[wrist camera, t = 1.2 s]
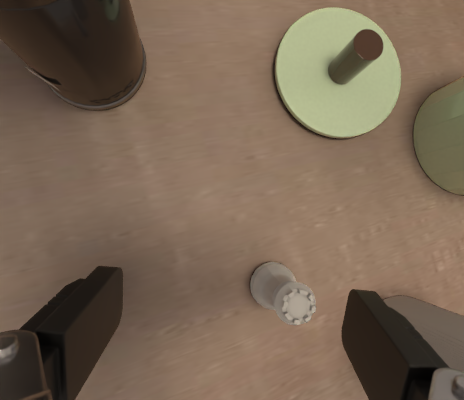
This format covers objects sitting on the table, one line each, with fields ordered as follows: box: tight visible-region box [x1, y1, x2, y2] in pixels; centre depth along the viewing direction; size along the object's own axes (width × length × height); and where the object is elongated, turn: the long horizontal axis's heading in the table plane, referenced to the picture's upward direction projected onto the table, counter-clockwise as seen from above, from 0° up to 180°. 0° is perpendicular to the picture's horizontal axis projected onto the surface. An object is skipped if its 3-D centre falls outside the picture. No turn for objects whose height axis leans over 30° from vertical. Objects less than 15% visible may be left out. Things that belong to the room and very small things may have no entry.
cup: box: [383, 296, 464, 372], centre depth 26 cm, size 9×9×12 cm
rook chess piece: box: [250, 262, 316, 325], centre depth 27 cm, size 4×4×8 cm
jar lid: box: [275, 8, 401, 138], centre depth 30 cm, size 14×14×6 cm
